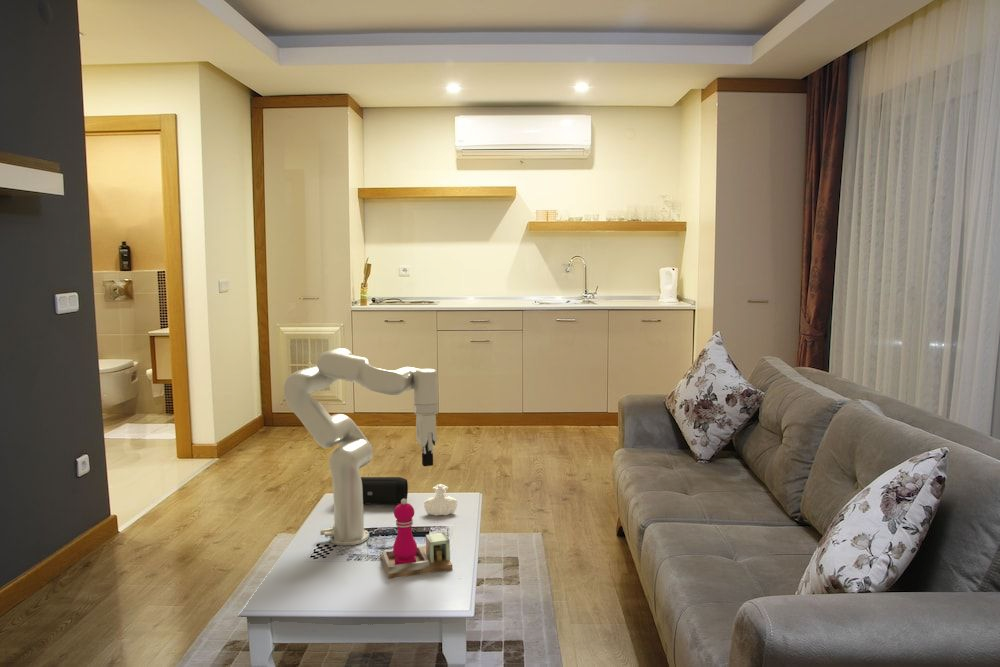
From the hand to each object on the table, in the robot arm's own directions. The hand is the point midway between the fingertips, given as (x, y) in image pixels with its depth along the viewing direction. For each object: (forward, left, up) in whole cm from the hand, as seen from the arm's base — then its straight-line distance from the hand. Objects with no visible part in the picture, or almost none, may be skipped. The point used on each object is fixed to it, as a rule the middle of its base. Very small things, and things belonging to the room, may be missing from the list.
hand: (427, 465), depth 225 cm
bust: (+10, +29, -27) cm, 41 cm away
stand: (-6, -10, -27) cm, 30 cm away
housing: (0, -12, -26) cm, 28 cm away
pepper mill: (-10, -13, -26) cm, 30 cm away
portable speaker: (-11, +48, -28) cm, 56 cm away
